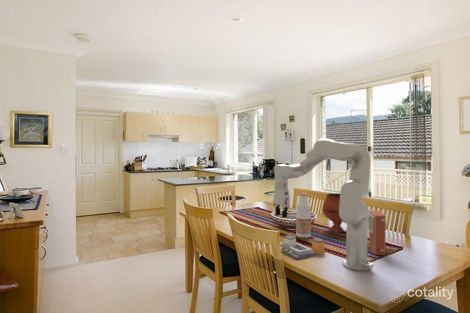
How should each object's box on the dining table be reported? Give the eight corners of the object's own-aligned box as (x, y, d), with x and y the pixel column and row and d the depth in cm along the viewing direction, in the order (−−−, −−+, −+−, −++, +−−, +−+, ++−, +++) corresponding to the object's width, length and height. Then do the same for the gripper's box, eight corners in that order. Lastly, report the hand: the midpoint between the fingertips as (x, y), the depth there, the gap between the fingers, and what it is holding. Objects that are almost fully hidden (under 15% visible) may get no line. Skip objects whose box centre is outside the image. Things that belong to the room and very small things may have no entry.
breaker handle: (295, 246, 169) (295, 237, 169) (289, 248, 167) (289, 238, 167) (290, 244, 174) (290, 235, 173) (283, 245, 171) (283, 236, 171)
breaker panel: (315, 255, 161) (315, 248, 161) (296, 259, 155) (296, 253, 155) (289, 243, 180) (289, 237, 180) (272, 247, 174) (272, 241, 174)
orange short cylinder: (324, 252, 165) (324, 240, 165) (318, 254, 163) (318, 241, 162) (318, 250, 169) (318, 238, 169) (312, 251, 167) (312, 239, 166)
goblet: (354, 229, 212) (354, 193, 211) (348, 235, 195) (348, 197, 194) (326, 225, 222) (326, 191, 221) (319, 231, 205) (319, 195, 205)
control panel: (379, 246, 174) (387, 256, 160) (366, 246, 176) (373, 255, 161) (380, 210, 173) (387, 216, 159) (367, 209, 175) (373, 215, 160)
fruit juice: (293, 235, 197) (293, 192, 196) (303, 233, 202) (303, 191, 201) (303, 239, 189) (303, 194, 188) (314, 236, 194) (314, 193, 193)
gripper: (295, 186, 170) (295, 218, 171) (277, 183, 185) (277, 212, 186) (285, 187, 167) (285, 220, 167) (267, 184, 182) (267, 213, 183)
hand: (281, 215), depth 177 cm, fingers open, 5 cm apart
